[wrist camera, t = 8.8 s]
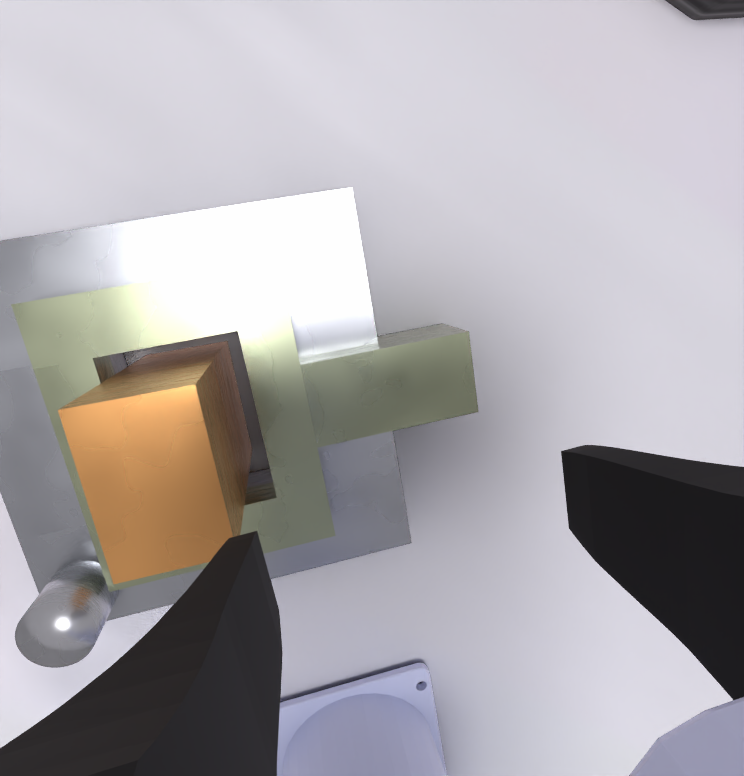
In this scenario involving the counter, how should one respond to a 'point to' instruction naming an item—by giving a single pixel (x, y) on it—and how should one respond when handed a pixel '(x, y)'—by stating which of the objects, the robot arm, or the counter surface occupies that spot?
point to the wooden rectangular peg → (163, 459)
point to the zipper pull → (710, 8)
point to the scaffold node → (266, 376)
